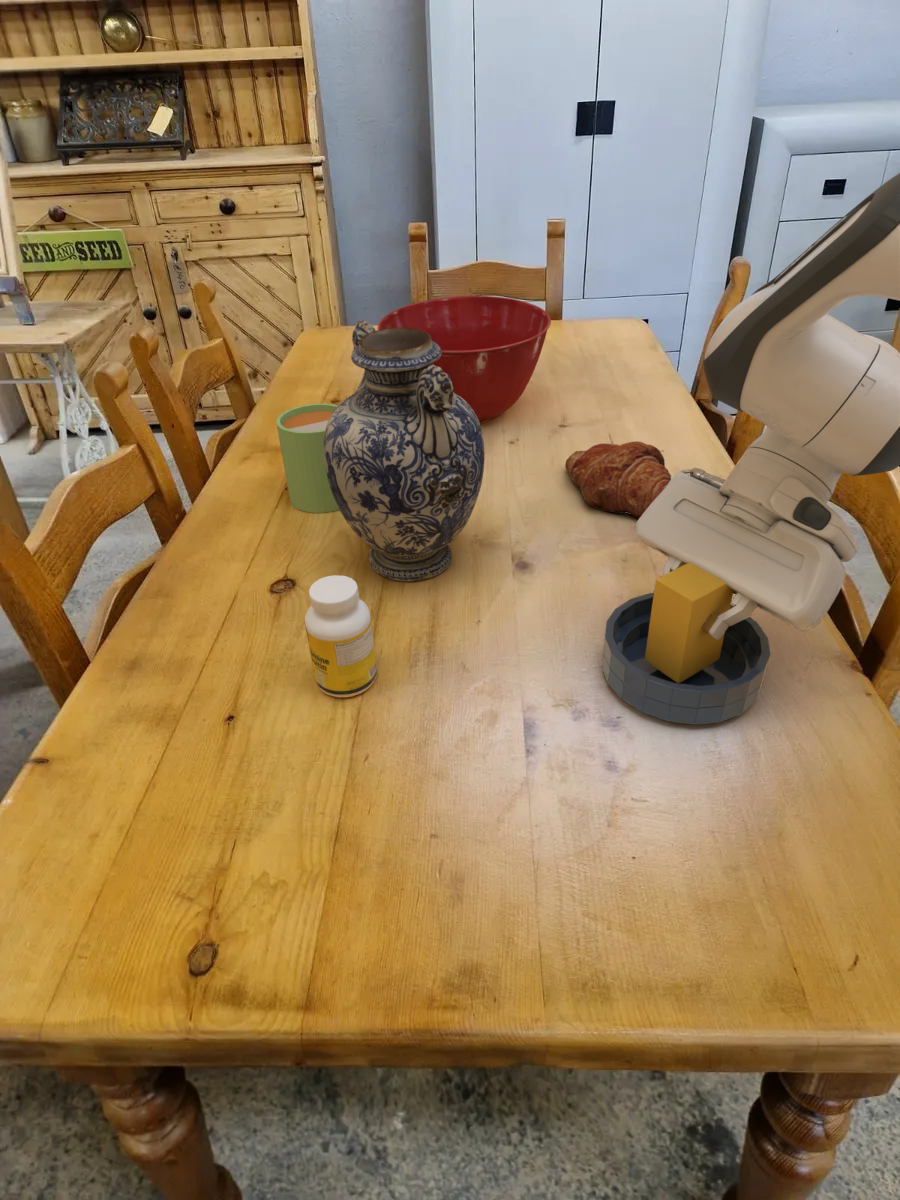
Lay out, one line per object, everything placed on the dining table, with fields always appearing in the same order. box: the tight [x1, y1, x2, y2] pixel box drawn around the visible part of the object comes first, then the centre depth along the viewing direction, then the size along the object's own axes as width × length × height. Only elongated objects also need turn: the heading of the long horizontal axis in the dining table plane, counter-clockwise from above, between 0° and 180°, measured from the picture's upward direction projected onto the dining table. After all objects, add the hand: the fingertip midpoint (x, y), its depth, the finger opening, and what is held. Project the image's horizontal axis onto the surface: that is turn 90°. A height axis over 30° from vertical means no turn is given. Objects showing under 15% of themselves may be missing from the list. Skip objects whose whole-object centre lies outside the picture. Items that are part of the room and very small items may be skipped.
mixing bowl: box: [377, 295, 552, 423], centre depth 135 cm, size 28×28×16 cm
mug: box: [275, 403, 340, 514], centre depth 112 cm, size 13×10×12 cm
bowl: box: [601, 592, 771, 726], centre depth 79 cm, size 16×16×5 cm
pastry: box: [564, 440, 672, 518], centre depth 109 cm, size 17×15×8 cm
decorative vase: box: [324, 320, 485, 582], centre depth 92 cm, size 21×19×28 cm
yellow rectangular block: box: [645, 562, 734, 683], centre depth 77 cm, size 4×6×10 cm
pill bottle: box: [304, 574, 378, 698], centre depth 79 cm, size 6×6×12 cm
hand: (685, 620), depth 76 cm, fingers closed on yellow rectangular block, 4 cm apart
